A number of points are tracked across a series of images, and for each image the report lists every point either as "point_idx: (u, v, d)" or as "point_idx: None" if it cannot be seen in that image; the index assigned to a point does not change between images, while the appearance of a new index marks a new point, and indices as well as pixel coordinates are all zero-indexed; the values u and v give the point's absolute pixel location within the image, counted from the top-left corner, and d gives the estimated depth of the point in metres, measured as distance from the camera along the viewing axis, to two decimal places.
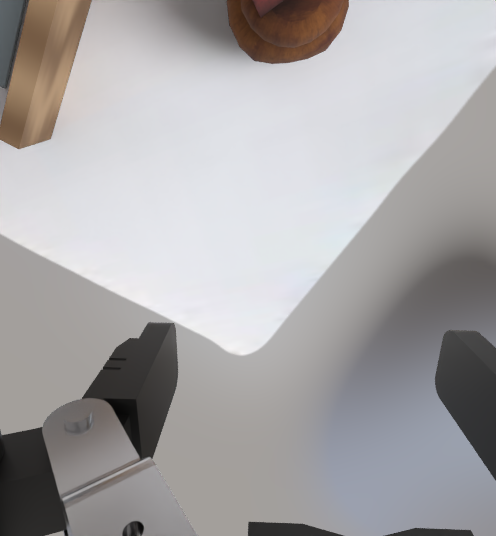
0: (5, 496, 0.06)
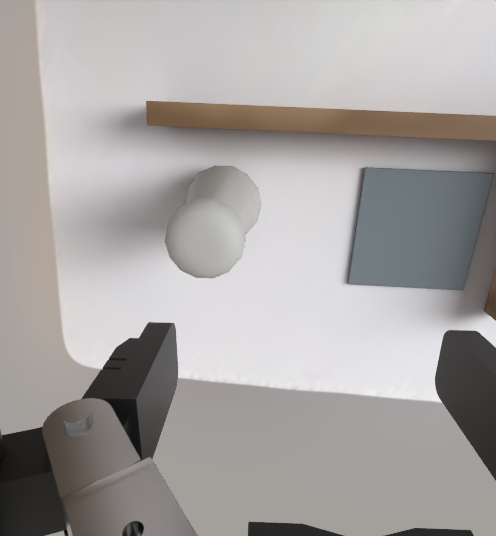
0: (5, 496, 0.06)
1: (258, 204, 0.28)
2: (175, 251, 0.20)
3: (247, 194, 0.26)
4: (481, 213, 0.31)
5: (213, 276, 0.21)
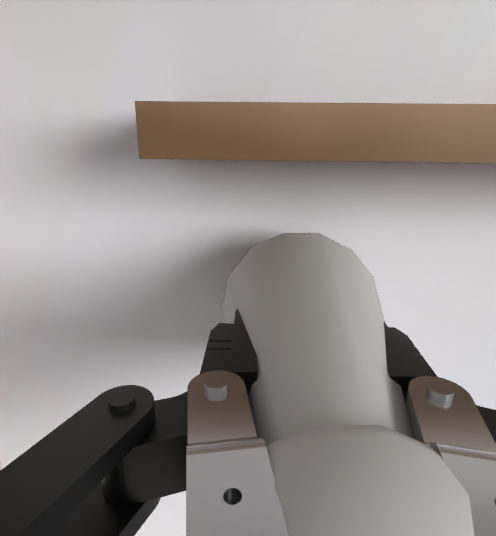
0: None
1: None
2: None
3: (374, 307, 0.11)
4: None
5: None
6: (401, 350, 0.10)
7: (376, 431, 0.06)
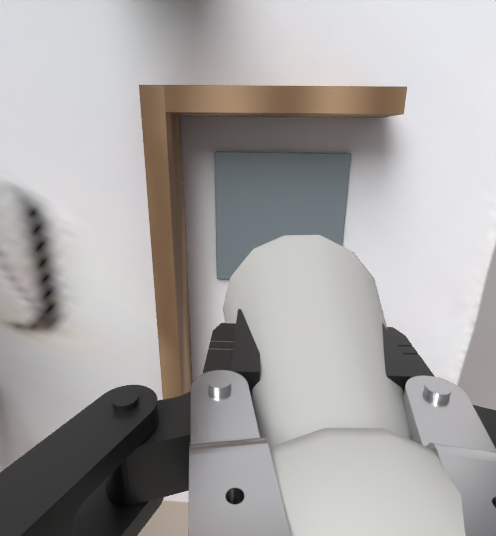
0: None
1: None
2: None
3: (375, 308, 0.11)
4: (256, 154, 0.28)
5: None
6: (398, 350, 0.10)
7: (378, 434, 0.06)
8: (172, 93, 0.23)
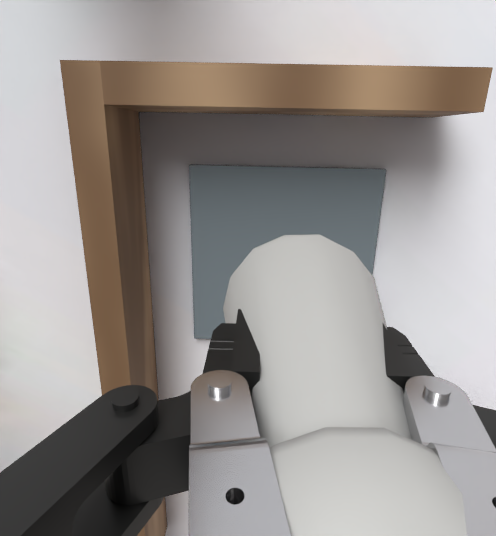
0: None
1: None
2: None
3: (376, 308, 0.11)
4: (250, 169, 0.19)
5: None
6: (398, 350, 0.10)
7: (378, 434, 0.06)
8: (114, 74, 0.14)
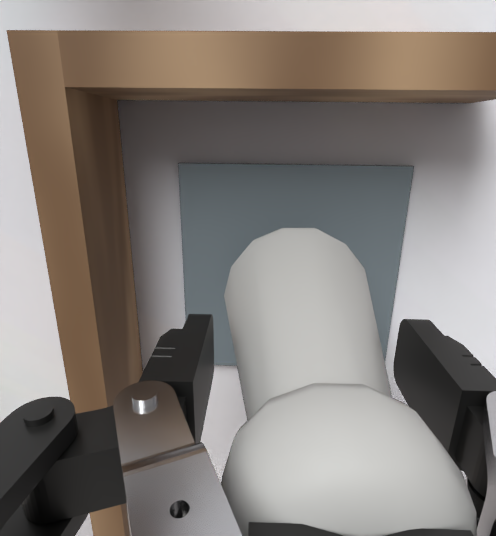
0: (74, 475, 0.07)
1: None
2: None
3: (364, 295, 0.13)
4: (251, 168, 0.16)
5: None
6: (466, 361, 0.09)
7: (358, 387, 0.07)
8: (76, 48, 0.11)
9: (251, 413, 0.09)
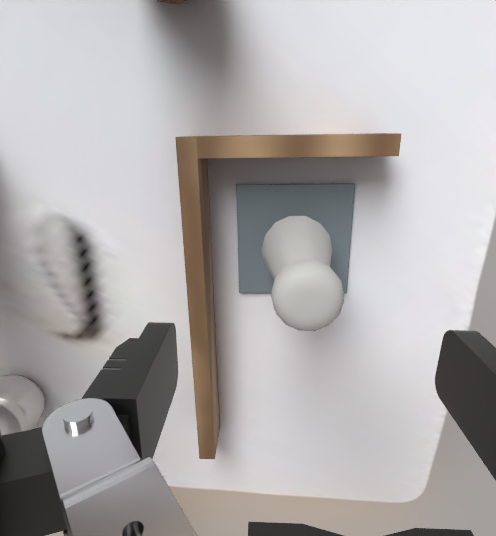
0: (5, 496, 0.06)
1: (331, 250, 0.31)
2: (284, 309, 0.22)
3: (325, 243, 0.29)
4: (273, 186, 0.33)
5: (315, 329, 0.23)
6: None
7: (312, 259, 0.23)
8: (203, 143, 0.28)
9: None
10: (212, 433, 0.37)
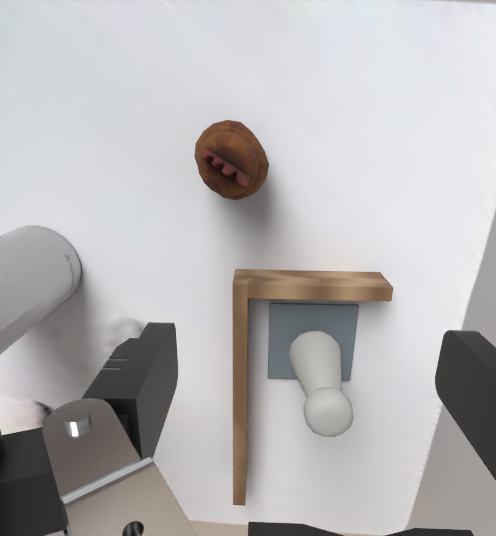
0: (5, 496, 0.06)
1: (340, 358, 0.42)
2: (313, 424, 0.33)
3: (338, 359, 0.40)
4: (297, 305, 0.44)
5: None
6: None
7: (332, 388, 0.34)
8: (252, 288, 0.38)
9: (307, 394, 0.36)
10: (244, 486, 0.47)
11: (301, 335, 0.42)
